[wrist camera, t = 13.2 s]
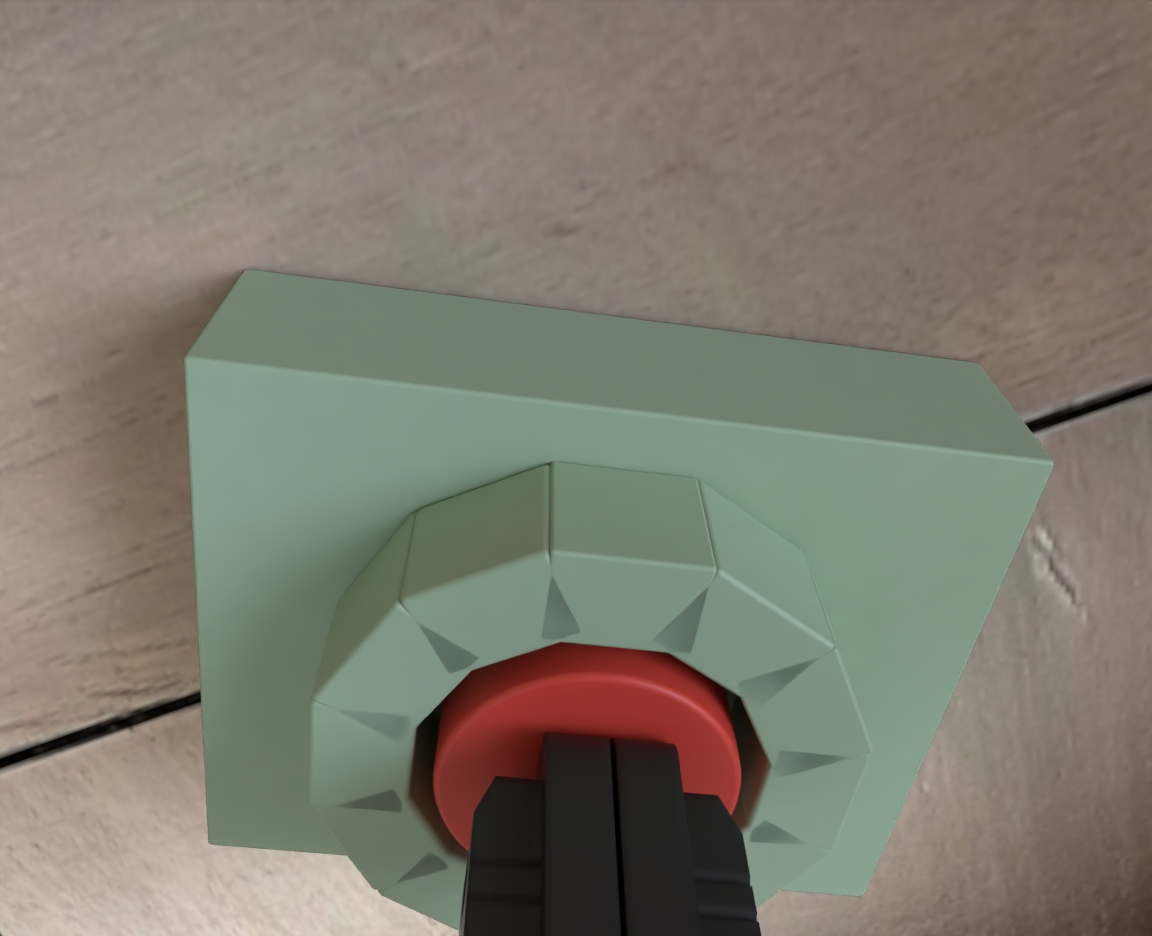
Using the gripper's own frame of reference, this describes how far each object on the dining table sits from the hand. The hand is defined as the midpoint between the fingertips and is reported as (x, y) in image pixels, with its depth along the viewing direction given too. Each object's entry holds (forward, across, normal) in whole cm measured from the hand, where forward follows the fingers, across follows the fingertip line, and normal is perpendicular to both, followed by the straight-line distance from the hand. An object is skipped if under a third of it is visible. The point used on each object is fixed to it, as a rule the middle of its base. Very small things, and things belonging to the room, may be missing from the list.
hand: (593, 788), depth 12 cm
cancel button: (+2, 0, 0) cm, 2 cm away
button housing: (+5, 0, 0) cm, 5 cm away
